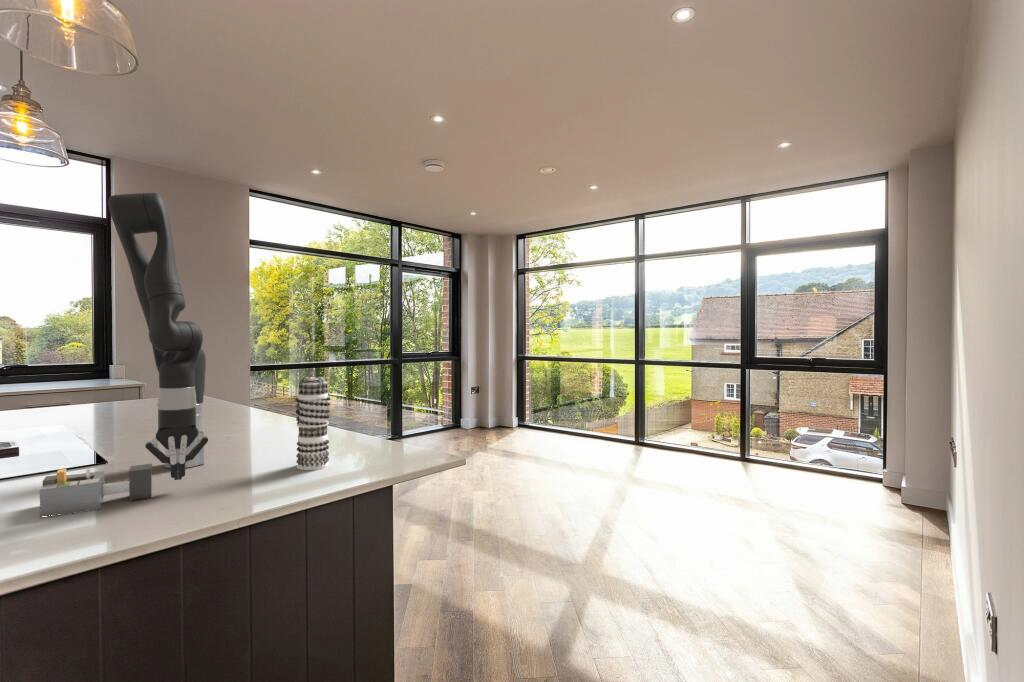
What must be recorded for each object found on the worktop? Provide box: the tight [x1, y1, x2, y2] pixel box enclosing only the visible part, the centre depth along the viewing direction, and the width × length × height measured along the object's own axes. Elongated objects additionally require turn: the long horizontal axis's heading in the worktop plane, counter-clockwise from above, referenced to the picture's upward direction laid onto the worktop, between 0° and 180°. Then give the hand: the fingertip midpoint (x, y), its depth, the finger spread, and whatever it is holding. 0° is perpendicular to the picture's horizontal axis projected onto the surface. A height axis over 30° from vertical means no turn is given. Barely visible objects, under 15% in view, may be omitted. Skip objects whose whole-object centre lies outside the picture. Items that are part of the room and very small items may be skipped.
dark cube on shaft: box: [85, 463, 153, 501], centre depth 115 cm, size 12×5×8 cm, turn 124°
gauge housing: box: [39, 470, 106, 518], centre depth 110 cm, size 10×10×7 cm
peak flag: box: [56, 468, 67, 483], centre depth 109 cm, size 1×3×7 cm, turn 34°
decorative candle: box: [294, 376, 331, 471], centre depth 144 cm, size 9×9×25 cm
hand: (177, 479), depth 121 cm, fingers closed
